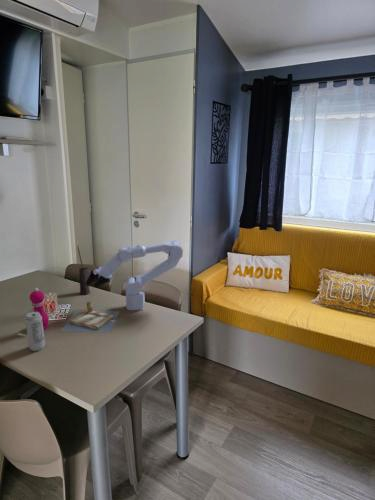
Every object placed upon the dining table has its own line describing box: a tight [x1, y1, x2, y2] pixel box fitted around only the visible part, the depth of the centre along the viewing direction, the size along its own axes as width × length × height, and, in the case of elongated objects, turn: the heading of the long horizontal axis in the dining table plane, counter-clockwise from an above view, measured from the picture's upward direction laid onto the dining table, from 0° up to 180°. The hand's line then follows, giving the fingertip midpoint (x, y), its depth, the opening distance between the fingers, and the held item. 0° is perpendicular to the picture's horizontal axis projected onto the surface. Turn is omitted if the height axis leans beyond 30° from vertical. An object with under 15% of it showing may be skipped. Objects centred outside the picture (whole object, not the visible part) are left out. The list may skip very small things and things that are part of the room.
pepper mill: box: [29, 287, 50, 331], centre depth 148 cm, size 7×7×20 cm
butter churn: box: [77, 245, 91, 296], centre depth 187 cm, size 9×10×28 cm
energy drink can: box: [24, 311, 46, 352], centre depth 134 cm, size 6×6×15 cm
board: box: [60, 310, 120, 333], centre depth 157 cm, size 22×20×1 cm
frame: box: [68, 301, 114, 329], centre depth 156 cm, size 16×12×6 cm
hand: (91, 285), depth 165 cm, fingers open, 7 cm apart
